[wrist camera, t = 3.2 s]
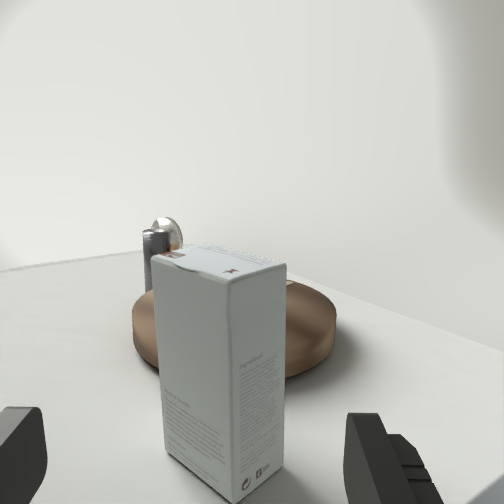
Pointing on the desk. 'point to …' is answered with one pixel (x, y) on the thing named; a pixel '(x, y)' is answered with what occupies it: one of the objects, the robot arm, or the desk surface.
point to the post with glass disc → (159, 244)
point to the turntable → (296, 337)
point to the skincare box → (222, 363)
